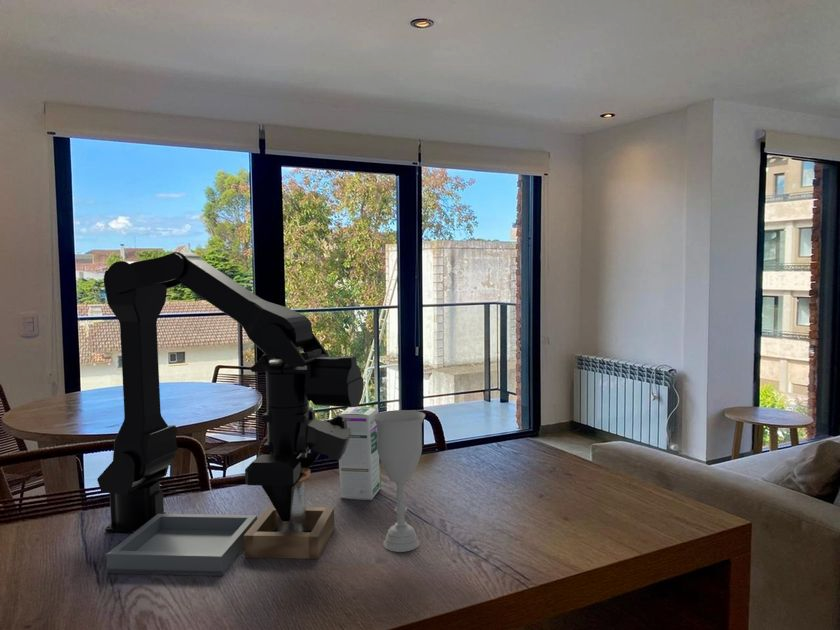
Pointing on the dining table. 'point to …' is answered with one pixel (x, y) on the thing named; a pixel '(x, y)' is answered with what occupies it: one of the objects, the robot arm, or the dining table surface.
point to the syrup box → (360, 456)
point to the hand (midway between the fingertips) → (291, 513)
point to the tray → (182, 545)
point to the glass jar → (296, 507)
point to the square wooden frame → (289, 536)
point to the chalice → (400, 466)
